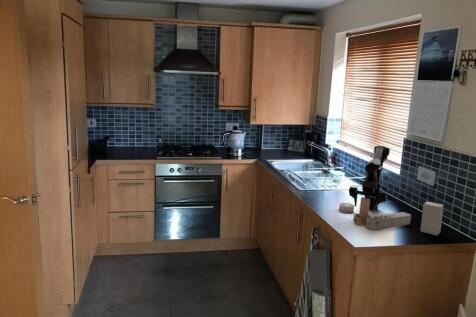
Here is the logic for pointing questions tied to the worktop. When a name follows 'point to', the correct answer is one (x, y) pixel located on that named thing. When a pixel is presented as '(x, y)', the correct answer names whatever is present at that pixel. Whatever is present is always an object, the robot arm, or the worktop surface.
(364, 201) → the brown dome-top cylinder
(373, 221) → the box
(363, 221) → the tray
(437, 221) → the skincare box
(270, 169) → the worktop surface
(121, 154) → the worktop surface
